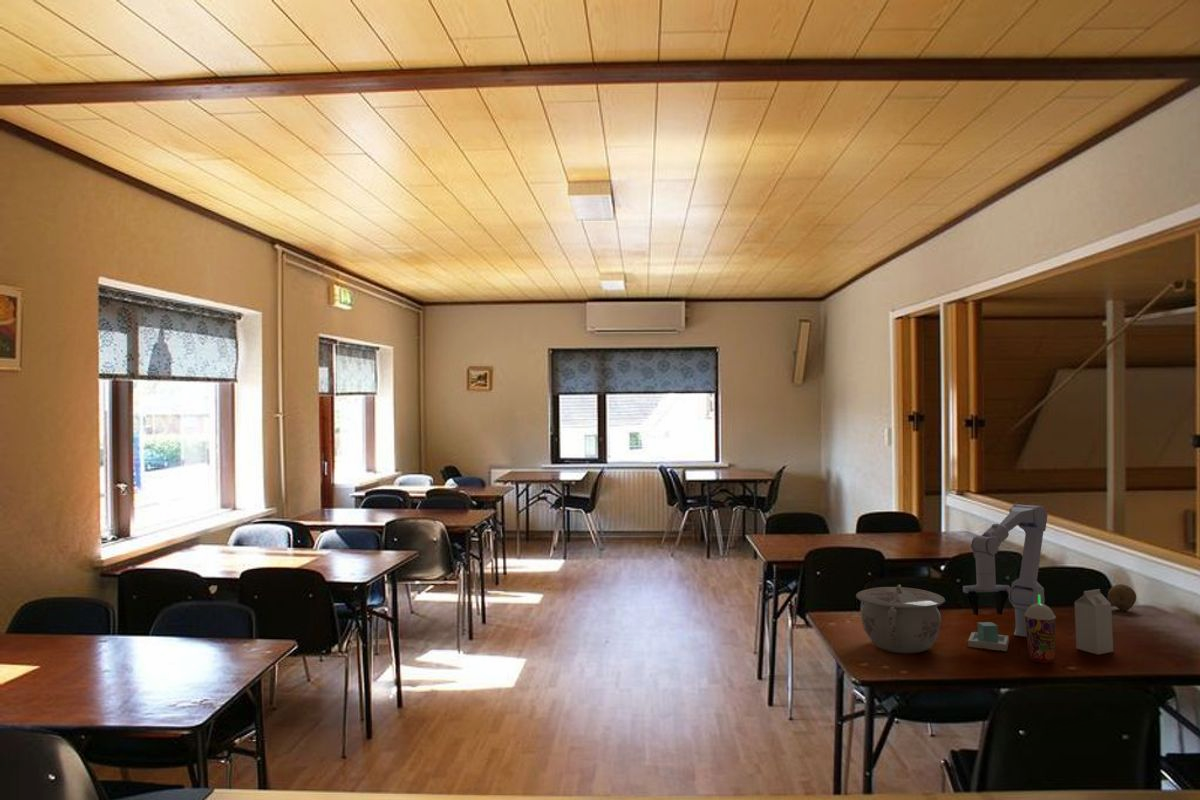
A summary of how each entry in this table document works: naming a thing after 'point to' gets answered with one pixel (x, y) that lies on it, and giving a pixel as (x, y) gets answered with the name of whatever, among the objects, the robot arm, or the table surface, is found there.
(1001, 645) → the tray
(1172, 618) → the table surface
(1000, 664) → the table surface
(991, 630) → the block
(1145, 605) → the table surface
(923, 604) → the chamber pot
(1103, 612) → the milk carton
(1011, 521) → the robot arm
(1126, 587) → the brown coconut
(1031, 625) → the smoothie
